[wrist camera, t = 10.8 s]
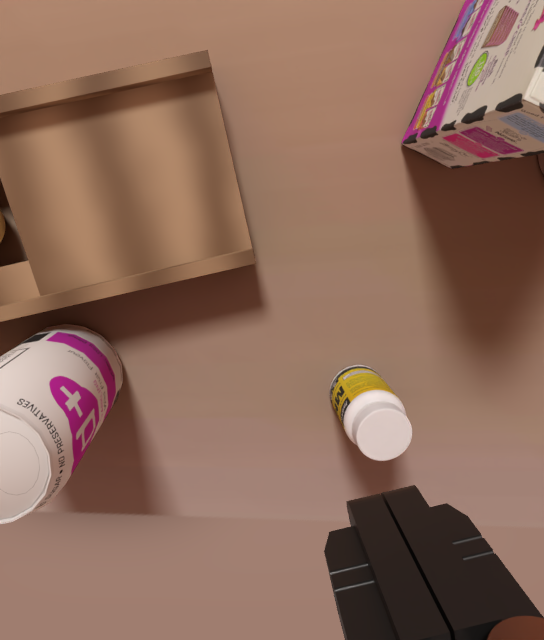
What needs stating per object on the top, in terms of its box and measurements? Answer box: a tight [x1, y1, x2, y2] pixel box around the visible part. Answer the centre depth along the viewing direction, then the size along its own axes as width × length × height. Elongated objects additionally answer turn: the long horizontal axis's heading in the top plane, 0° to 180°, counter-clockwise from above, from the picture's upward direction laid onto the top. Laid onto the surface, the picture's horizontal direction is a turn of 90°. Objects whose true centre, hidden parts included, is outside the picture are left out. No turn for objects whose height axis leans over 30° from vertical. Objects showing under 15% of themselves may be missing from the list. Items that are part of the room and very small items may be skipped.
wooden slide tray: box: [0, 50, 256, 322], centre depth 35 cm, size 26×14×4 cm, turn 102°
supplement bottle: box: [330, 365, 412, 461], centre depth 38 cm, size 5×5×8 cm
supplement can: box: [0, 324, 123, 524], centre depth 33 cm, size 8×8×15 cm
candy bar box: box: [401, 0, 544, 169], centre depth 29 cm, size 11×5×16 cm, turn 157°
